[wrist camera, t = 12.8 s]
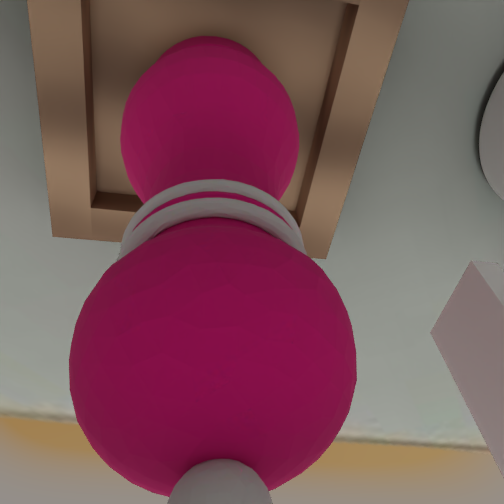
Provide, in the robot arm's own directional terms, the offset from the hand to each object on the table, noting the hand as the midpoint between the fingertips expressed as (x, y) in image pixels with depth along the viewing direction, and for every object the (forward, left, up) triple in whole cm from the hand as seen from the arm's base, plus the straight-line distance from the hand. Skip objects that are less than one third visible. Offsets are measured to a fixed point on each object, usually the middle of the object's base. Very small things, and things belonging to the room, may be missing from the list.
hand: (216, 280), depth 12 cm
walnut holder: (0, 0, -14) cm, 14 cm away
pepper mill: (0, 0, -14) cm, 14 cm away
